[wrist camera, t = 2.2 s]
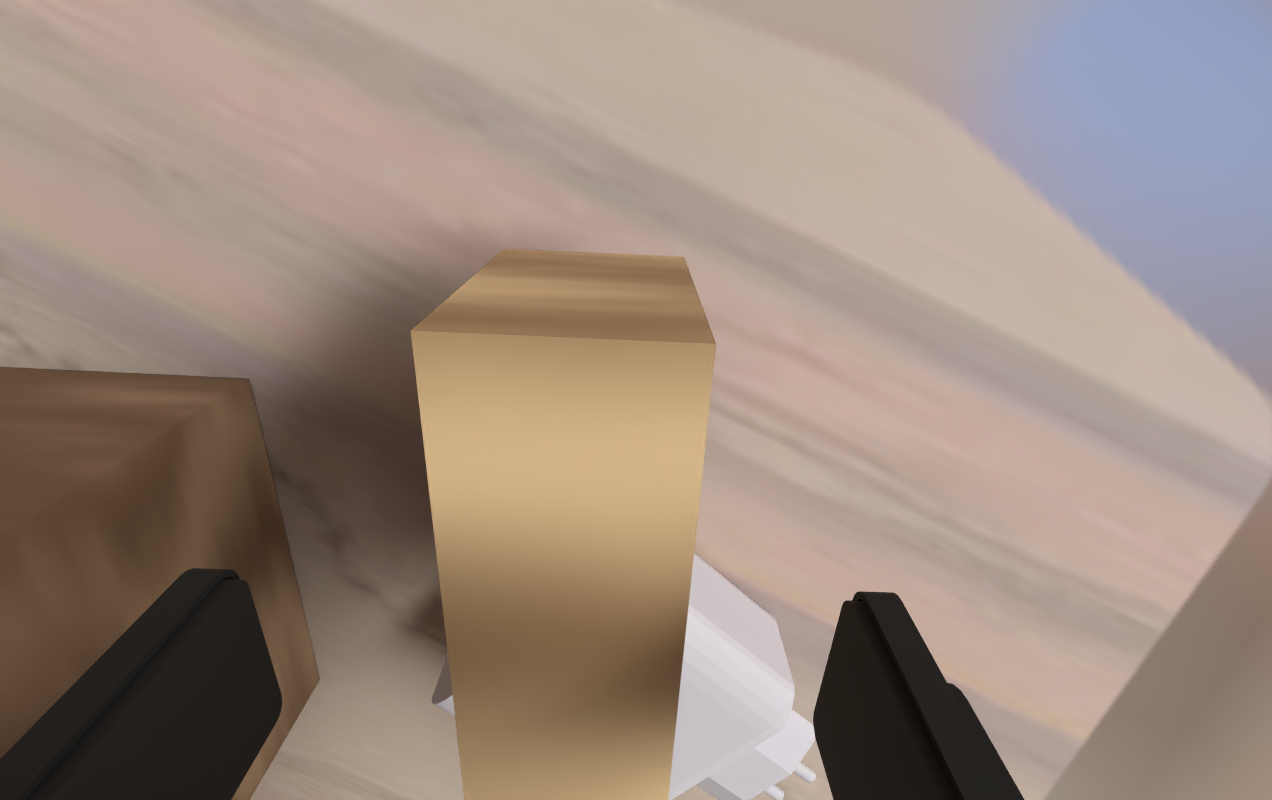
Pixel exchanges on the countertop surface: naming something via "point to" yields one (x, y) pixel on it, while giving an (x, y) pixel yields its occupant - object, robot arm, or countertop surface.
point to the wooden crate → (132, 527)
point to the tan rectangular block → (566, 514)
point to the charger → (726, 698)
